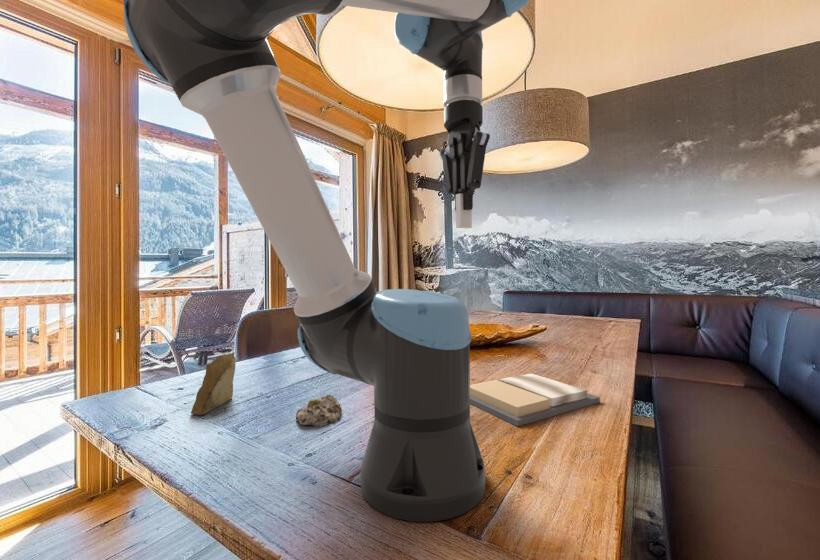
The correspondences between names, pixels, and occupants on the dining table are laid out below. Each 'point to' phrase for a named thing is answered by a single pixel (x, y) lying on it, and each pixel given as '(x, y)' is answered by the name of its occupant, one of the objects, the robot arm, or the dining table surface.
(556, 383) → the book
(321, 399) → the mineral rock
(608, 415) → the dining table surface
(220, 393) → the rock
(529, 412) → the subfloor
